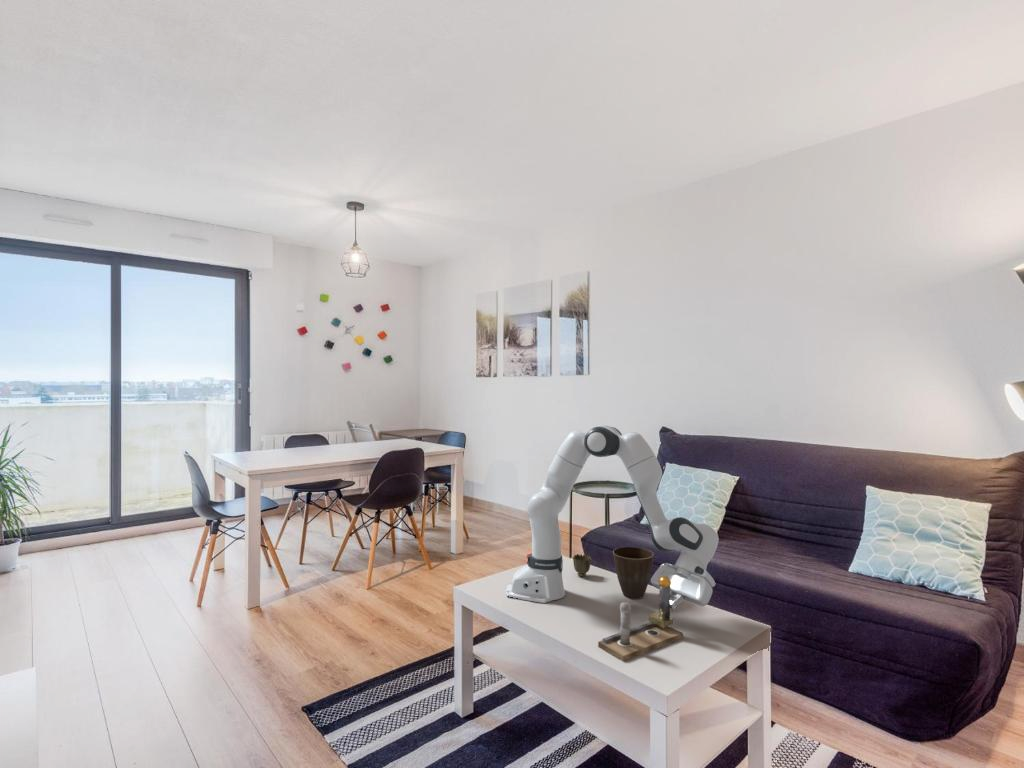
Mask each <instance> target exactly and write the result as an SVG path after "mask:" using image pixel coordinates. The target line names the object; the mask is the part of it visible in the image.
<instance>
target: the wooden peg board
mask: <svg viewBox="0 0 1024 768" xmlns="http://www.w3.org/2000/svg"><path fill="white" fill-rule="evenodd" d="M619 610H620V632H618V633H615V634H613V635H609V636H606V637H603V638H602V640H598V642H597V644H598V645H597V647H598V648H600V649H602V650H603V651H604V652H606V653H608V654H610V655H611V656H613V657H615V658H616V659H618V660H620V661H622V662H626V661H628V660H630V659H633V658H635V657H638V656H640V655H643V654H646V653H647V652H650V651H653V650H656V649H658V648H661V647H664V646H666V645H668V644H670V643H673V642H675V641H678V640H681V639H683V638H684V634H683V633H684V632H682V631H680V630H678V629H676V628H674V627H672V626H668V627H666V628H663V627H661V626H659V625H657V624H655V623H652V622H650V621H648V622H647V623H644V624H640V625H638V626H636V627H633V628H630V626H631V625H630V624H631V620H630V619H631V610H632V608H631V605H630V604H629V602H626V601H622V602H621V603H620V605H619Z"/></svg>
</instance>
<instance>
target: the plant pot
mask: <svg viewBox="0 0 1024 768" xmlns="http://www.w3.org/2000/svg"><path fill="white" fill-rule="evenodd" d="M612 554H613V555H612V556H613V562H614V568H615V572H616V575H617V576H616V577H617V580H618V584H619V585H620V589H621V592H622V595H623V597H625V598H627V599H631V600H641V599H643V598H644V596H645V594H646V591H647V588H648V585H649V581H650V580H651V574H652V569H653V564H654V558H655V557H654V556H655V553H654V552H653V551H651V550H649V549H647V548H643V547H636V546H622V547H616V548H614V549H613V550H612Z"/></svg>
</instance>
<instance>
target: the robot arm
mask: <svg viewBox="0 0 1024 768" xmlns="http://www.w3.org/2000/svg"><path fill="white" fill-rule="evenodd" d="M591 455H592V456H594V457H596V458H607V457H611V456H617V457H618V458H619V459H620V460H621V461H622V463H623V465H624V467H625V468H626V471H627V472H628V475H629V477H630V479H631V481H632V484H633V486H634V489H635V492H636V497H637V499H638V501H639V504H640V506H641V508H642V510H643V513H644V516H645V518H646V520H647V523H648V525H649V531H650V532H649V533H650V537H651V540H652V544H653V545H654V546H655V547H656V548H657V549H658V550H659V551H661V552H665V553H670V552H673V551H675V550H679V551H680V555H679V557H678V559H677V560H676V562H675V564H671V563H669V562H665V563H662V564H661V565H660V566H659V567H658V568H657V569H656V570H655V572H654V573H653V574H652V577H650V583H651V584H652V586H653V587H654V588H656V589H658V590H660V585H659V579H660V578H661V577H662V576H666V577H668V578H669V579H670V580H671V586H670V609H672V610H675V609H676V607H677V606H678V605H679V604H681V603H682V602H683V601H684V600H686V601H687V602H690V603H693V604H695V605H698V606H701V607H705V606H707V605H708V604H709V602H710V600H711V597H712V595H713V588H714V587H715V586H716V582H715V580H714V578H713V577H712V575H711V574H710V573H709V572H708V570H707V569H708V568H707V566H708V564H709V562H710V561H711V560H712V559H713V557H714V555H715V552H716V551H717V548H718V545H719V540H720V539H719V534H718V533H717V532H716V531H715V529H714V528H713V527H711V526H710V525H708V524H706V523H696V522H694V521H690V520H689V519H687V518H685V517H675V518H671V519H669V520H668V519H667V517H666V516H665V513H664V511H663V509H662V507H661V504H660V502H659V501H660V500H659V499H658V497H657V496H658V495H657V492H658V491H657V490H658V487H659V484H660V482H661V481H662V476H663V469H662V467H661V465H660V462H659V460H658V458H657V457H656V454H655V453H654V451H653V449H652V448H651V446H650V445H649V444H648V442H647V441H646V439H645V438H644V437H643V436H642V435H641V434H640V433H638V432H627V433H626V434H622V433H621V431H620V430H619V429H618V428H616V427H613V426H609V425H602V426H595V427H593V428H590V429H589V430H588V431H587V433H585V432H582V431H579V430H574V431H571V432H570V433H569V434H568V435H567V436H566V438H564V440H563V441H562V443H561V445H560V446H559V448H558V450H557V451H556V454H555V456H554V457H553V458H552V461H551V463H550V466H549V467H548V469H547V471H546V475H545V477H544V481H543V483H542V486H541V488H540V489H539V490H538V492H535V493H534V494H532V495H531V496H530V498H529V500H528V502H527V505H526V514H527V515H528V518H529V523H530V524H529V525H530V530H531V551H528V553H527V554H526V564H525V565H523V566H521V568H519V569H518V570H517V571H515V573H514V574H513V576H512V580H511V583H509V584H508V585H507V586H506V588H505V592H504V594H506V595H507V596H509V597H508V598H510V597H513V598H512V599H516V598H518V599H517V600H523V601H530V602H535V603H541V604H546V603H549V602H552V601H555V600H560V599H562V598H564V597H565V596H566V591H565V586H564V581H563V573H562V572H563V566H564V563H563V561H564V560H563V554H562V533H561V528H560V525H559V514H560V513H561V512H562V511H563V510H564V507H565V505H566V504H567V501H568V499H569V497H570V495H571V493H572V490H573V487H574V485H575V483H576V481H577V479H578V478H579V476H580V473H581V472H582V470H583V468H584V466H585V464H586V462H587V460H588V459H589V458H590V456H591ZM506 595H505V596H506ZM507 596H506V597H507ZM674 596H675V597H676V598H674ZM672 598H674V599H673V600H672Z"/></svg>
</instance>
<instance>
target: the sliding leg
mask: <svg viewBox="0 0 1024 768" xmlns="http://www.w3.org/2000/svg"><path fill="white" fill-rule="evenodd" d="M659 585H660V589H659V611H657V612H654V613H651V614H649V615H648V622H652V623H655V624H657V625H659V626H661V627H663V628H666V627H668V626H669V627H672V626H674V618H673V617H671V608H670V586H671V580H670V579H669V578H668V577H666V576H662V577H661V578H660V579H659Z"/></svg>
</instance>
